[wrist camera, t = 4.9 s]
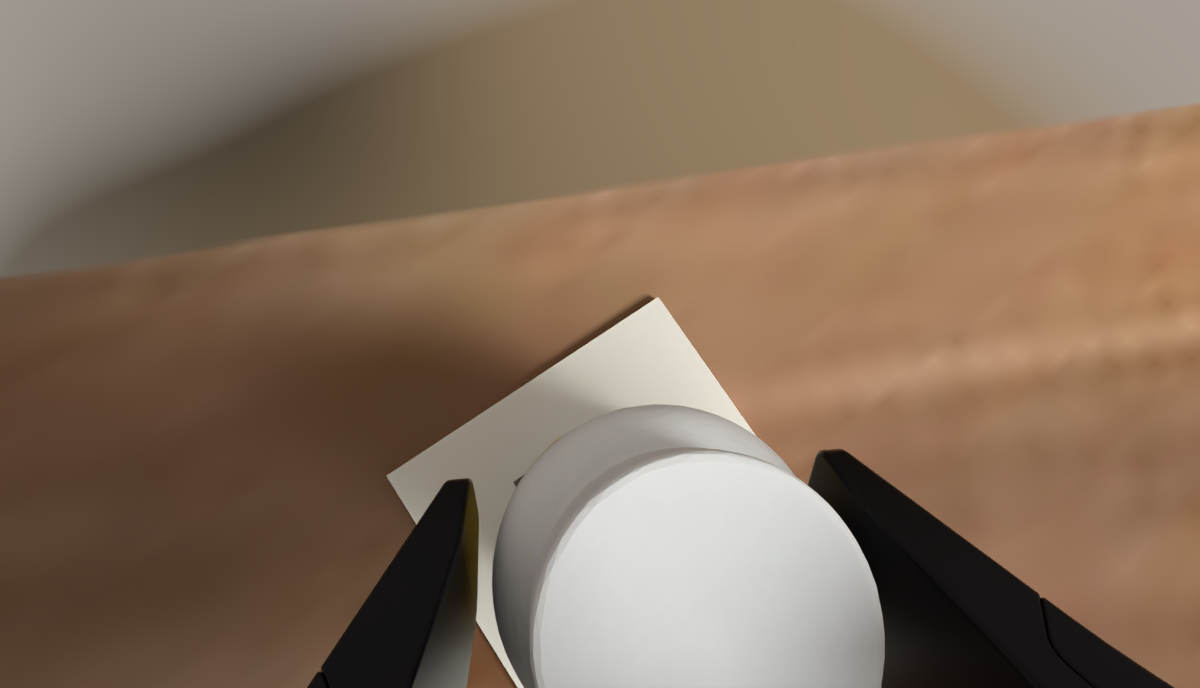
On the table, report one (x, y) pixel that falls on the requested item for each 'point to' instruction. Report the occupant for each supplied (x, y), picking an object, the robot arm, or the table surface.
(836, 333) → the table surface
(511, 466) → the tile
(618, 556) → the supplement bottle
